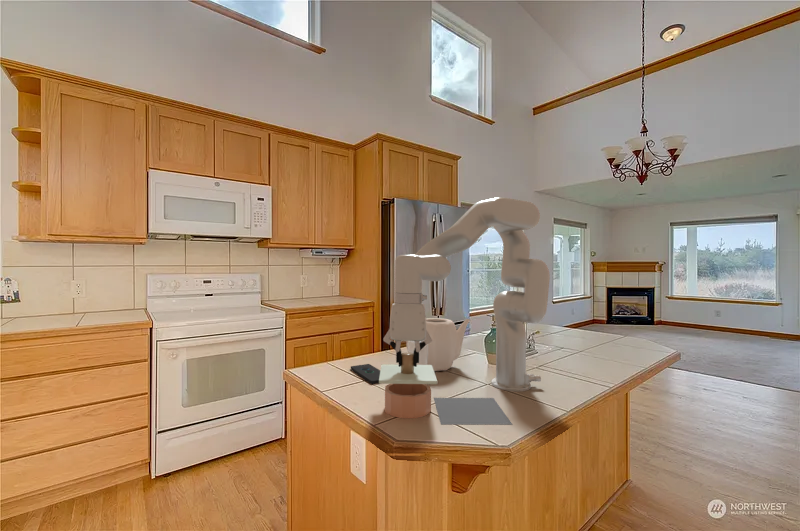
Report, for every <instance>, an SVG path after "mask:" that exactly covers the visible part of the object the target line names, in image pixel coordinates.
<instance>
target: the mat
mask: <svg viewBox="0 0 800 531" xmlns="http://www.w3.org/2000/svg"><path fill="white" fill-rule="evenodd" d="M433 401H434V405H435V409H436V411H437V416H438V420H439V422H440V425H441V426H442V425H443V426H444V425H446V426H447V425H449V426H450V425H455V426H459V425H460V426H462V425H463V426H465V425H466V426H469V425H470V426H474V425H475V426H485V425H486V426H488V425H492V426H494V425H495V426H497V425H498V426H503V425H504V426H513V423H512V421H511V420H510V419H509V417H508V416H507V415H506V413H505V412H504V410H503V409H502V408H501V406H500V405H499V403H497V401H496V400H495V398H494V397H433Z"/></svg>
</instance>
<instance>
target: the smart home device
mask: <svg viewBox="0 0 800 531" xmlns="http://www.w3.org/2000/svg"><path fill="white" fill-rule="evenodd" d="M350 371H352V372H353V373H355V375H357V376H359V377H360V378H362V379H363V380H364V381H365V382H368V383H369V384H370V385H377V384H378V385H379V377H380V371H381V369H379V368H377V367H375V366H373V365H372V364H370V363H365V364H358V365H351V366H350Z"/></svg>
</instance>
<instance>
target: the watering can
mask: <svg viewBox="0 0 800 531" xmlns="http://www.w3.org/2000/svg"><path fill="white" fill-rule="evenodd" d="M470 321H471V319H470V318H466V319H465V320H464V321H463V322H462V323H461V324H460V325H459V327H458V328H457V326H456V325H455V322H454V321H453V320H451V319H450V318H449V319H447V318H443V317H429V318H428V317H426V330H427V331H428V333H429V335H430V337H431V338H432V342H430V343H429V344H428V363H427V365H432V367H433V370H434V372H439V371H448V370H449V369H451V368H452V366H453V363H454V361H456V360H457V359H458V358H459V357H460V356H461V353H462V352H461V351H462V348H463V342H464V338H465V332H466V331H467V326H468V324H469V323H470ZM405 342H406V343H405V344H406V350H407V351H408V341H405Z"/></svg>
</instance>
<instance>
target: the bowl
mask: <svg viewBox="0 0 800 531" xmlns="http://www.w3.org/2000/svg"><path fill="white" fill-rule="evenodd" d="M431 411H432V388H431V386H430V384H386V385H385V387H384V413H385V414H387V415H390V416H392V417H395V418H396V417H397V418H399V419H417V418H421V417H425V416H427V415H428V414H430V413H431Z"/></svg>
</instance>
